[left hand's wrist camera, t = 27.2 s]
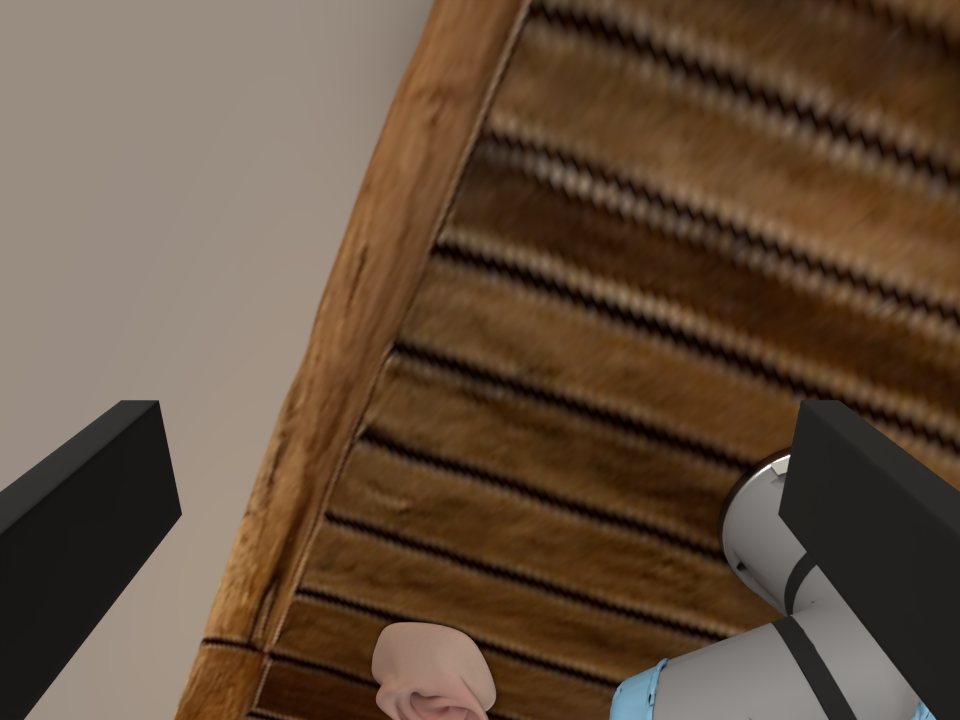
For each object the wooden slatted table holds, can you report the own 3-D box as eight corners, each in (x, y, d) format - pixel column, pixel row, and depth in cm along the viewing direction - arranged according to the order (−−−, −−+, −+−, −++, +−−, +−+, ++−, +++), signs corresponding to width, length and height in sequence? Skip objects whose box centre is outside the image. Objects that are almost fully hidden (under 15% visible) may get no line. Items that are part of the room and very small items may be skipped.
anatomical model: (351, 661, 54) (479, 645, 53) (359, 626, 58) (480, 611, 57) (383, 765, 58) (501, 751, 58) (388, 727, 62) (500, 714, 62)
